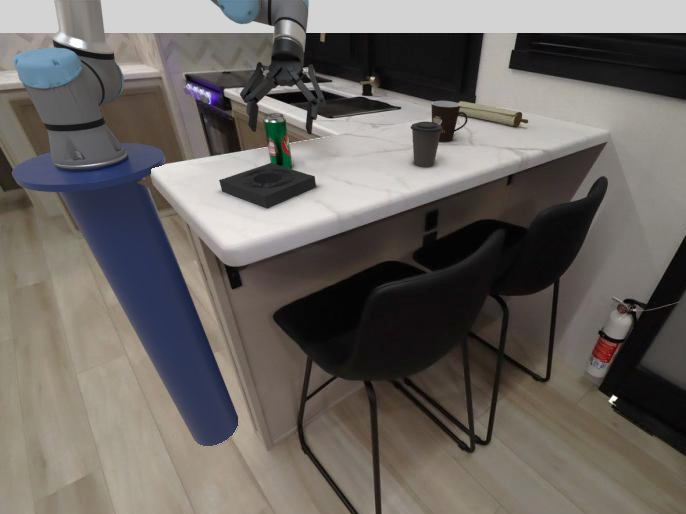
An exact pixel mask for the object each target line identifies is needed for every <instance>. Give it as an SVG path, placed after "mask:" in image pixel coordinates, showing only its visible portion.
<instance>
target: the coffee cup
mask: <svg viewBox="0 0 686 514" xmlns="http://www.w3.org/2000/svg"><path fill="white" fill-rule="evenodd" d="M410 130H411V131H412V133H411V134H412V151H413V165H414V166H416V167H420V168H431V167H434V165H435V163H436V157H437V153H438V147H439V143H440V142H439V138H440V133H441V131H442V130H443V128H442V126H441V125H438V124H437V123H433V122H432V121H419V122H415V123H412V124H411V126H410Z"/></svg>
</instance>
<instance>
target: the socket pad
mask: <svg viewBox="0 0 686 514" xmlns="http://www.w3.org/2000/svg"><path fill="white" fill-rule="evenodd" d="M218 181H219V185H220V189H221V192H222V193H226V194H228V195H231V196H234V197H236V198H239V199H241V200H244V201H246V202H249V203H252V204H254V205H257V206H260V207H262V208H265V209H269V208H271V207H274V206H277V205H279V204H281V203H283V202H285V201H288V200H290V199H291V198H292V199H293V198H295V197H297V196H299V195H302V194H304V193H306V192H308V191H310V190H313V189H315V188H317V183H316V176H315V175H312V174H309V173H305V172H302V171H299V170H296V169H292V168H290V169H289V168H286V167H283V166H279V165H276V164H273V163H271V162H269V163H266V164H263V165H261V166H257V167H254V168H251V169H249V170H245V171H242V172H239V173H236V174H234V175H230V176H227V177H224V178H221V179H219V180H218Z"/></svg>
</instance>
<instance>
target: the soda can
mask: <svg viewBox="0 0 686 514" xmlns="http://www.w3.org/2000/svg"><path fill="white" fill-rule="evenodd" d="M263 117H264V118H263V121H262V122H263V128H264V132H265V139H266V144H267V149H268V151H267V152H268V157H269V161H270V162H269V163H273V164H276V165H279V166H283V167H286V168H289V169H292V168H293V158H292V151H291V145H290V139H289V138H290V137H289V132H288V123H287V119H286V118H285V115H284V114H283V113H279V112H271V113H270V112H269V113H265V114H264V115H263Z"/></svg>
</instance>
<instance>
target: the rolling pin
mask: <svg viewBox="0 0 686 514" xmlns="http://www.w3.org/2000/svg"><path fill="white" fill-rule="evenodd" d="M457 103H459V104H460V109H459V112H464V113H465V114H466V115H467V117H470V118H475V119H480V120H485V121H490V122H494V123H500V124H504V125H508V126H511V127H512V126H513V127H515V128H518V127H519V126H520V125H521V123H523V124H528V123H529V119H525V118H523V112H522V111H517V110H511V109H506V108H501V107H496V106H491V105H486V104H485V105H484V104H479V103H474V102H468V101H463V100H459V101H458V102H457ZM458 116H464V115H463V114H459V115H458Z"/></svg>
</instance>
